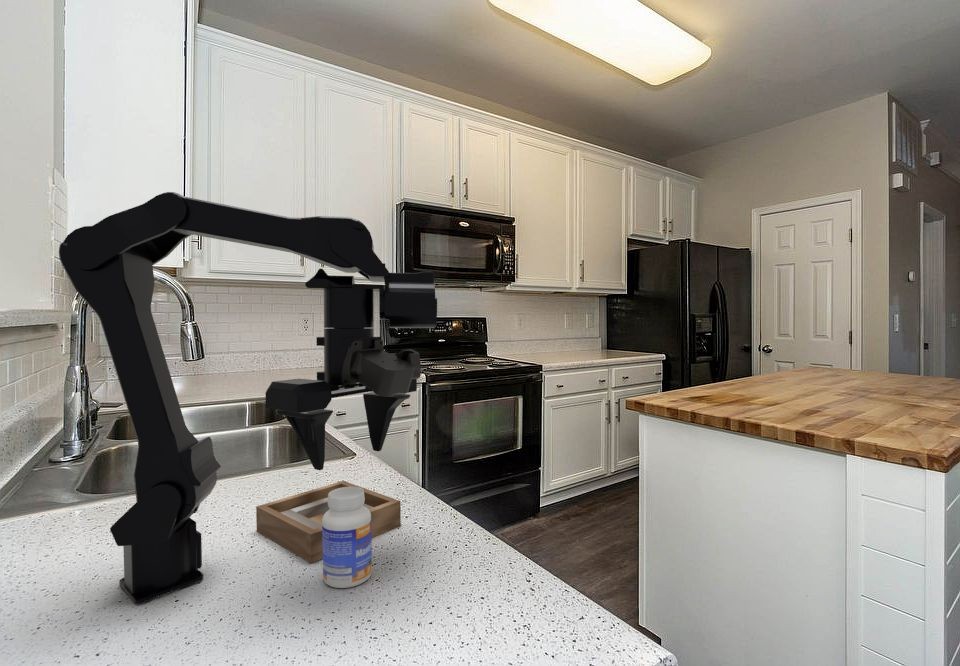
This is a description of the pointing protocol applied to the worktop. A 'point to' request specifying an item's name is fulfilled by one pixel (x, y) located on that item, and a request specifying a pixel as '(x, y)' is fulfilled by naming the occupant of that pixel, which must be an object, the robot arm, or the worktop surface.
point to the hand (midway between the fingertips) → (349, 459)
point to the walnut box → (318, 519)
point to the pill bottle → (346, 539)
